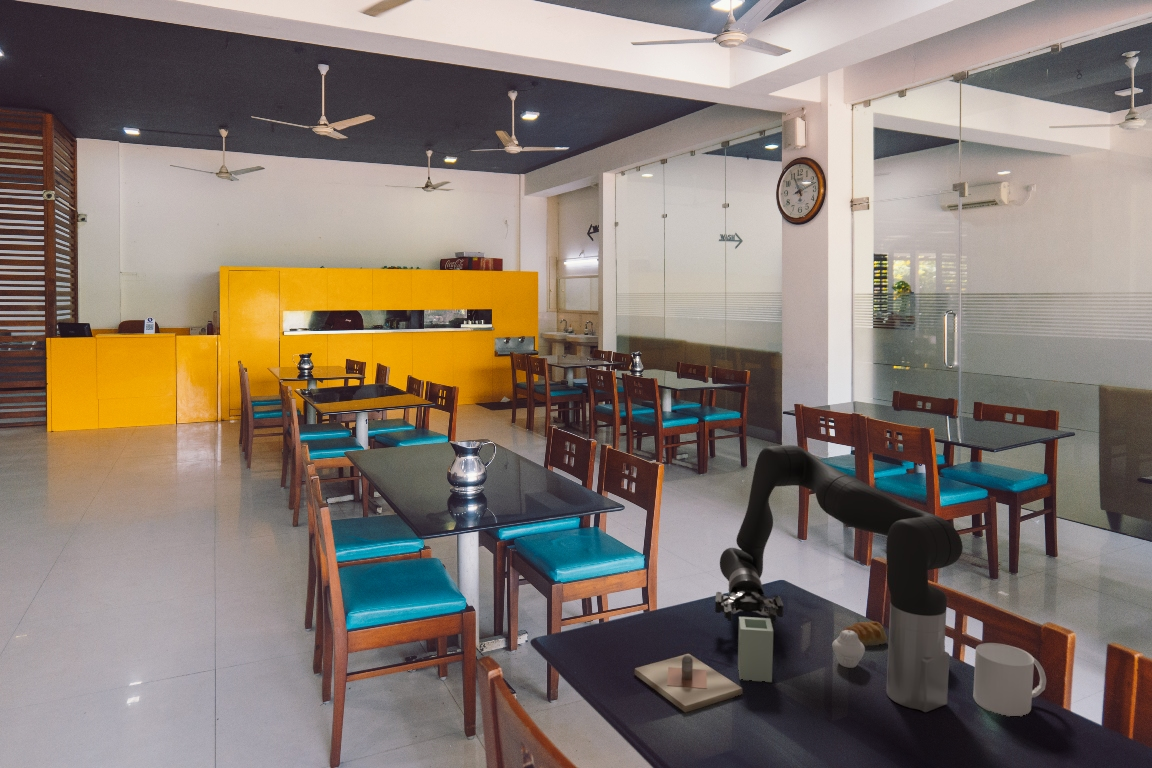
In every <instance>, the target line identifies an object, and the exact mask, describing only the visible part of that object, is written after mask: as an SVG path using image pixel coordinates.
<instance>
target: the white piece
mask: <svg viewBox="0 0 1152 768" xmlns="http://www.w3.org/2000/svg"><path fill="white" fill-rule="evenodd" d="M843 630H844V629H843ZM841 631H842V630H841ZM841 631H840V632H839V636H838V637H837V638H836V639H835V640H833V641H832V645H831V646H832V650H833V653H834V655H835V657H836V659H837V661H838V664H840V666H842V667H845V668H849V669H850V668H851V669H854V668H856V667H857V666H858V664H859V663H860V662H861V659H862V658H863V656H864V654H865V652H866V646H864V645H863V644H862V643H861V642H860V640H859V639H858V635H857V634H856V633H855V632H854V631H850V630H844V631H842V632H841Z"/></svg>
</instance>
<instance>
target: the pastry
mask: <svg viewBox="0 0 1152 768" xmlns="http://www.w3.org/2000/svg"><path fill="white" fill-rule="evenodd" d="M844 630H850V631H854V632H855V633H856V634H857V635H858V639H859V640H860V642H861V643H862V644H863V645H864V647H869V646H880V645H879V644H881V645H885V644H886V643H887V642H888V637H887V633H886V631H885V629H884V626H883V625H882V624H881V623H880V622H879V621H873V620H870V621H869V622H866V621H864V622H861V621H859V622H855V623H854V624H852V625H850V626H846V627H845V628H843V629H842V630H841V631H840V633H841V632H842V631H844ZM868 645H869V646H868Z"/></svg>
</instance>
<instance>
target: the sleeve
mask: <svg viewBox="0 0 1152 768" xmlns="http://www.w3.org/2000/svg"><path fill="white" fill-rule="evenodd" d="M737 637H738V639H737V643H738V644H737V645H738V646H737V648H738V649H737V669H738V670H739V671H738V677H739V679H738V680H739V681H749V680H752V681H751V682H762V681H765V682H766V683H773V661H774V660H773V658H774V656H773V655H774V653H773V652H774V628H773V624H771V620H770V618H768V617H766V618H765V617H754V616H753V617H751V616H738V636H737ZM741 679H743V680H741Z"/></svg>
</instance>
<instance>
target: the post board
mask: <svg viewBox="0 0 1152 768" xmlns="http://www.w3.org/2000/svg"><path fill="white" fill-rule="evenodd" d="M634 675H635V676H636V677H637V678H639V679H640V680H641V681H643V682H644V683H646V684H647V685H648V686H649V687H650V688H652V689H654V690H655V691H656V692H657V693H659V695H661V696H663V697H664V698H665V699H667V701H669V702H671V703H672V704H673V705H675V707H677V708H678V709H680V710H681V711H682V712H684V713H688V712H691V711H695V710H697V709H701V708H704V707H707V706H710V705H714V704H716V703H720V702H722V701H725V700H729V699H732V698H735V696H736V697H738V695H739V696H741V694H742V695H743V687H741V686H740V685H738V684H737V683H735V682H733V681H732V680H731V679H729V678H727V677H726V676H724V675H723V674H721V673H720V672H718V671H716V670H715V669H713V668H712V667H711V666H708V665H707V664H706V663H704V662H702V661H701V660H699V659H698V658H697V657H695V656H693V655H691V654H690V653H685V654H683V655H679V656H676V657H671V658H668V659H663V660H660V661H657V662H653V663H652V662H651V663H650V664H646V665H642V666H638V667H635V668H634Z"/></svg>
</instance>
